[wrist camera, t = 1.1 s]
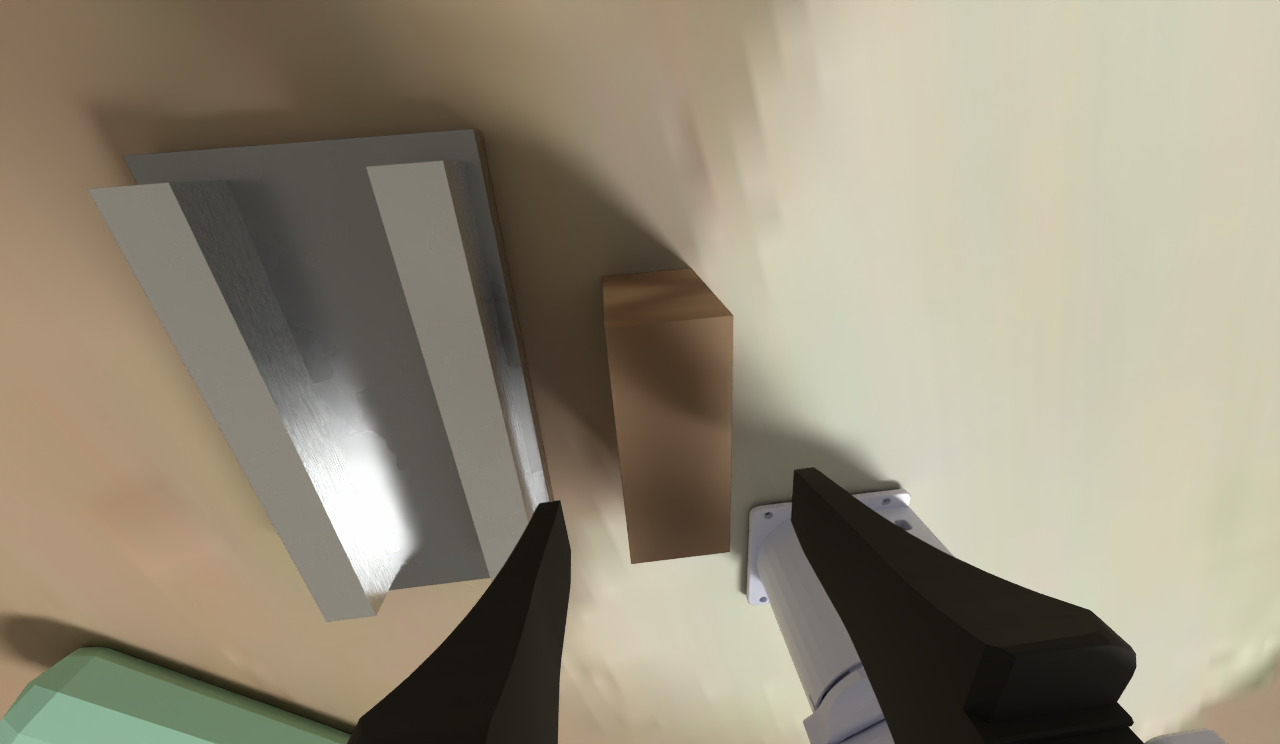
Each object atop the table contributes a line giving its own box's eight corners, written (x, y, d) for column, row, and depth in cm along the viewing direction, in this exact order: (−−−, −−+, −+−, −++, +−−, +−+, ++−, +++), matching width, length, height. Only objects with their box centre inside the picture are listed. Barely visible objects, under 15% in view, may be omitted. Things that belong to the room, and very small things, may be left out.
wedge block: (691, 267, 20) (733, 315, 14) (695, 451, 25) (729, 551, 18) (602, 276, 20) (604, 328, 14) (622, 459, 24) (631, 563, 18)
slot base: (481, 131, 17) (454, 123, 14) (564, 552, 27) (559, 606, 23) (153, 156, 17) (46, 155, 13) (356, 577, 26) (321, 636, 23)
